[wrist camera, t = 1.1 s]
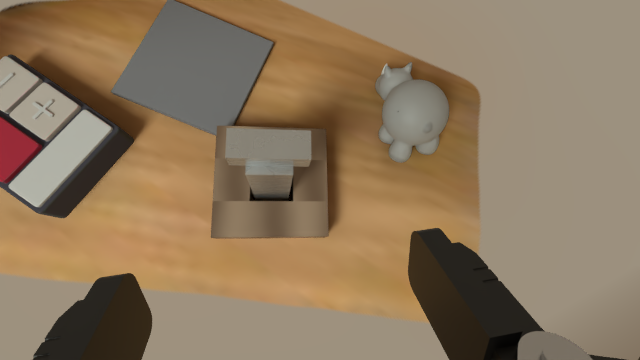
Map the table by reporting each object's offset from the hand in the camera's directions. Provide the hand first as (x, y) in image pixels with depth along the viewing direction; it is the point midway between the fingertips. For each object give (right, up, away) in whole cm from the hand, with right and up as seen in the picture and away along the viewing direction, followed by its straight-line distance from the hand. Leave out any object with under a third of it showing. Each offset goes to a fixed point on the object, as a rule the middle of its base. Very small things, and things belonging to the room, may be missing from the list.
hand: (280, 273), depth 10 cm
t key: (-4, +2, +28) cm, 28 cm away
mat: (-14, +16, +30) cm, 37 cm away
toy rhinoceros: (+11, +11, +32) cm, 36 cm away
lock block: (-4, +2, +28) cm, 28 cm away
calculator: (-29, +7, +26) cm, 40 cm away
